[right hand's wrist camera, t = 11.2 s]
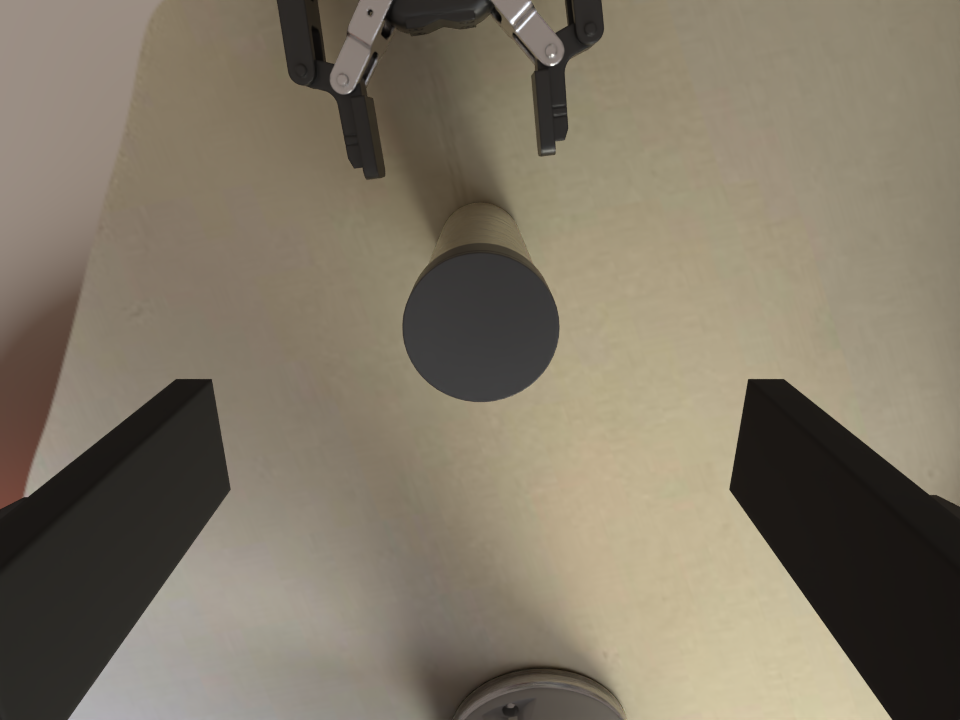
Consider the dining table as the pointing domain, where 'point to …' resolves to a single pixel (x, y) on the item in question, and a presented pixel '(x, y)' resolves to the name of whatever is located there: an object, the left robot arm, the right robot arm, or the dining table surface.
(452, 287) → the lid
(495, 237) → the silver metal cylinder
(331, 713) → the dining table surface
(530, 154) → the dining table surface
